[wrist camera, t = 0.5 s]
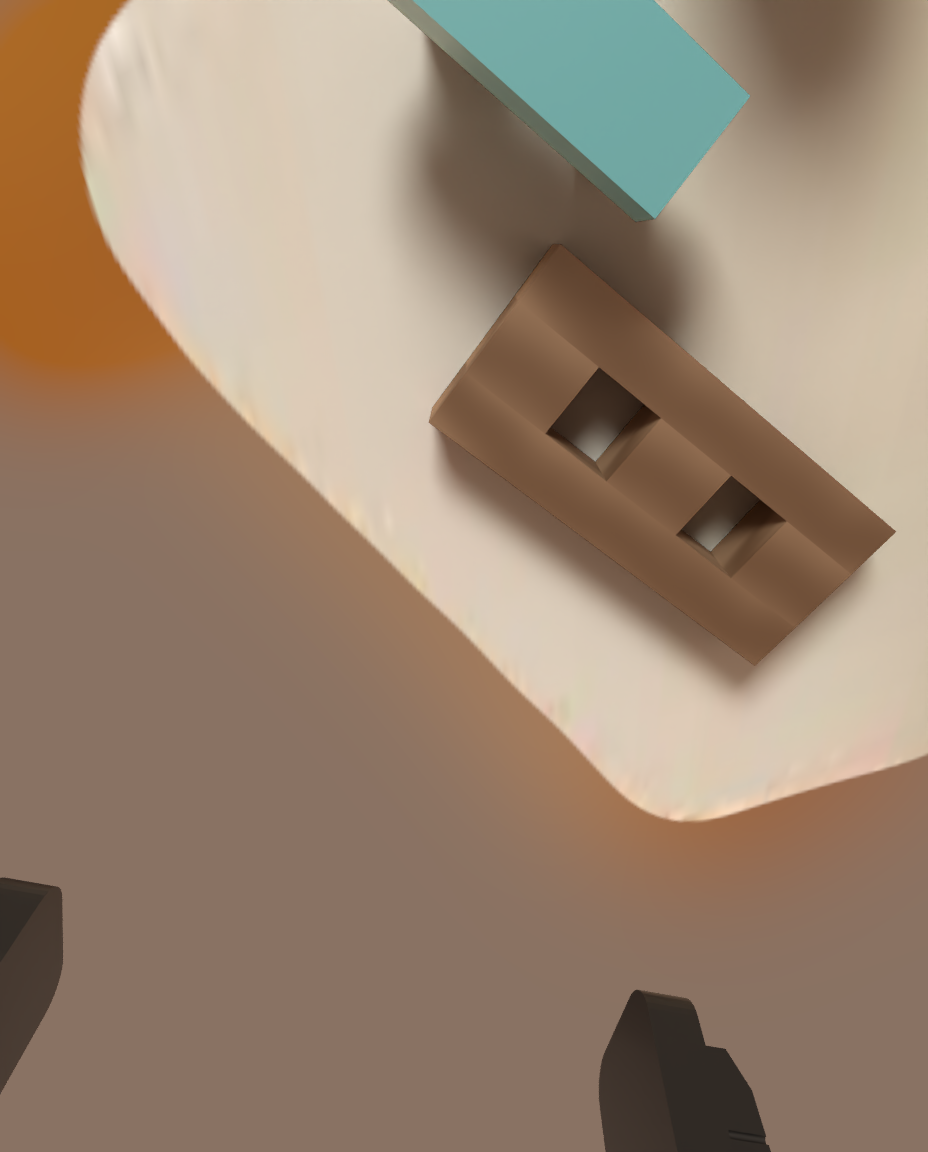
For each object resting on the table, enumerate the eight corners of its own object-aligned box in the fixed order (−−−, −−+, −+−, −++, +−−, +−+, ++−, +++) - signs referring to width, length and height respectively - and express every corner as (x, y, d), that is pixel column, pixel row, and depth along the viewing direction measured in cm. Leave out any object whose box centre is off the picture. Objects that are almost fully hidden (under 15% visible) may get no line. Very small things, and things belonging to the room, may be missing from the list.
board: (552, 244, 30) (560, 244, 27) (861, 508, 34) (896, 531, 31) (432, 407, 32) (428, 422, 30) (733, 634, 37) (754, 665, 34)
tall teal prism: (449, -96, 26) (442, -211, 19) (687, 130, 28) (750, 96, 22) (382, 19, 27) (354, -53, 20) (615, 225, 29) (654, 219, 23)
